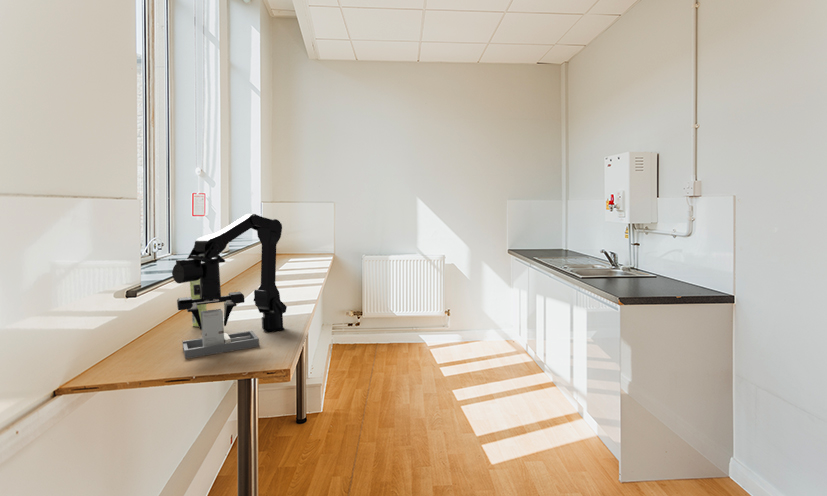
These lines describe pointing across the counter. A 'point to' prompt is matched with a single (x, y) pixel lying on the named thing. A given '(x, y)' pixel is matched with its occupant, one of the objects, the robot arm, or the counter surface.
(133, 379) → the counter surface
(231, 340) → the pusher
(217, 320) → the skincare box
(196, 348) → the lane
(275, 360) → the counter surface
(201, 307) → the tube
